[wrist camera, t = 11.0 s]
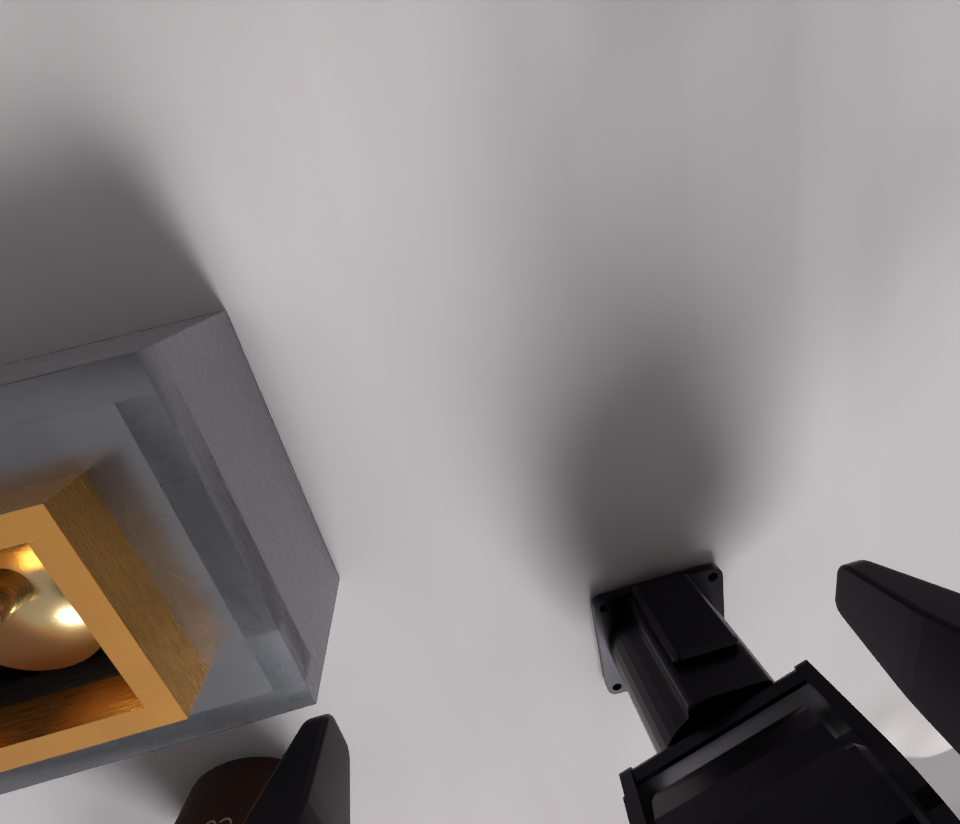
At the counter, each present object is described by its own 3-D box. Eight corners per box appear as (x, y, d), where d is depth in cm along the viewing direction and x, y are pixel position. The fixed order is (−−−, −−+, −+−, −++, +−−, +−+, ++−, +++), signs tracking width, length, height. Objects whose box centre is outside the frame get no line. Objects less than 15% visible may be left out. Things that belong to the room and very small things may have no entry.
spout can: (213, 528, 20) (107, 694, 13) (114, 554, 19) (-50, 737, 12) (168, 441, 18) (19, 575, 11) (59, 468, 18) (-161, 622, 11)
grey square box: (339, 578, 21) (307, 750, 14) (62, 655, 21) (-110, 871, 14) (225, 310, 17) (97, 370, 10) (-134, 398, 16) (-539, 528, 9)
